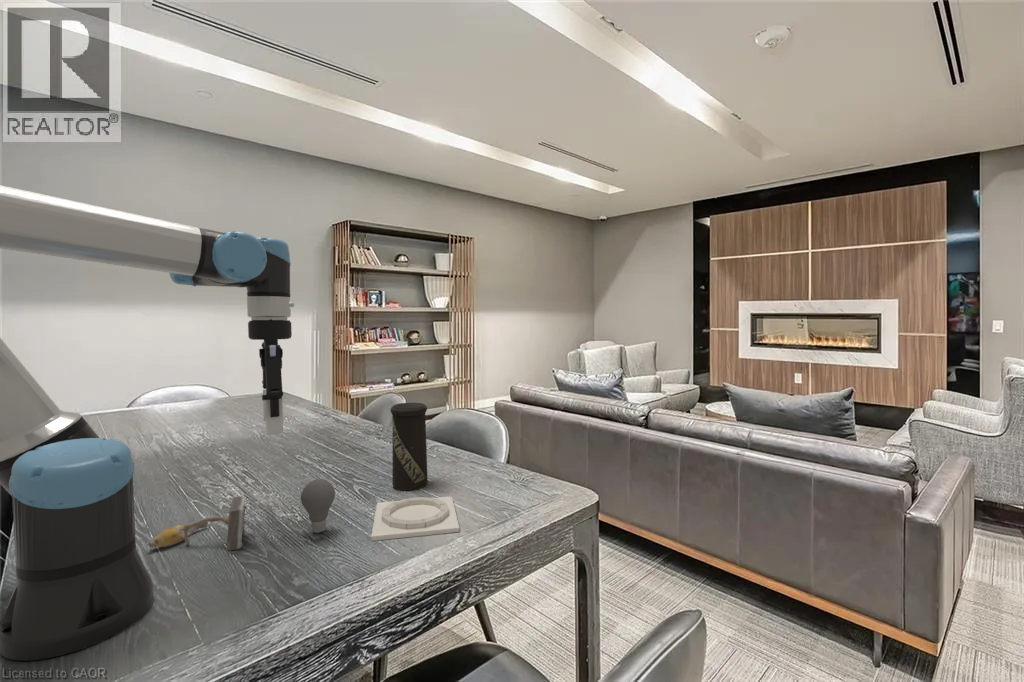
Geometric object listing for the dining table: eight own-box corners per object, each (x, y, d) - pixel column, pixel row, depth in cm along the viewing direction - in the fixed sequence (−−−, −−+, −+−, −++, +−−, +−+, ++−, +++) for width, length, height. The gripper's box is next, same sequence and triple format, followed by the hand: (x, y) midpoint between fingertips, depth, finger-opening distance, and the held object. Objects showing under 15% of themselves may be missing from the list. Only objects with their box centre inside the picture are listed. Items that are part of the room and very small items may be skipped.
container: (383, 487, 112) (382, 404, 111) (408, 476, 120) (407, 399, 119) (412, 493, 108) (410, 407, 107) (435, 481, 116) (434, 401, 115)
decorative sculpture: (145, 555, 81) (143, 513, 80) (182, 529, 90) (180, 492, 90) (241, 552, 81) (239, 511, 81) (267, 527, 91) (266, 490, 91)
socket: (459, 531, 88) (459, 522, 88) (371, 540, 85) (371, 531, 85) (451, 500, 104) (451, 492, 104) (377, 506, 101) (377, 498, 100)
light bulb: (323, 540, 85) (322, 486, 85) (294, 537, 86) (293, 484, 86) (342, 526, 91) (341, 475, 90) (314, 523, 92) (313, 473, 92)
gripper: (297, 318, 82) (300, 437, 83) (286, 319, 104) (288, 413, 105) (248, 319, 79) (252, 443, 80) (247, 319, 100) (250, 417, 101)
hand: (272, 426), depth 92 cm, fingers open, 13 cm apart
